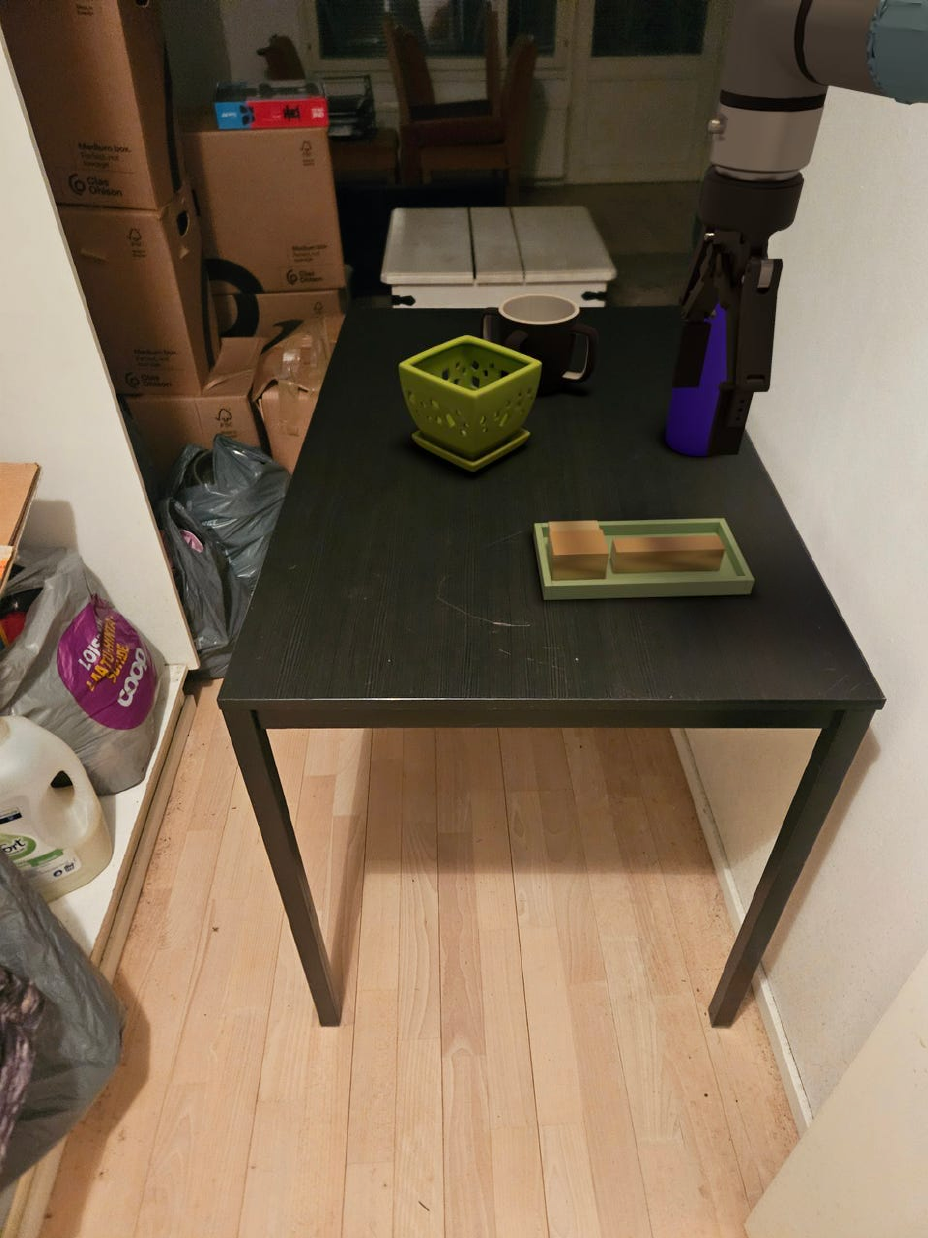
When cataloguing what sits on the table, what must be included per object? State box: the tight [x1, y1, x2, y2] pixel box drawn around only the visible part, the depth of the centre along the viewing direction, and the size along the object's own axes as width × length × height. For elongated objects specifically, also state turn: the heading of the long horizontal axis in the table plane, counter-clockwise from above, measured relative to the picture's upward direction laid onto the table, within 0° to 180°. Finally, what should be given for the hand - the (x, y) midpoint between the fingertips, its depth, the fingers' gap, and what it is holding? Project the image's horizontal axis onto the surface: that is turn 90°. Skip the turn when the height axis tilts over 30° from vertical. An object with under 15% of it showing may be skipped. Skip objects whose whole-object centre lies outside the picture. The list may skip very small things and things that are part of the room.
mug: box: [479, 293, 600, 395], centre depth 118 cm, size 16×16×12 cm
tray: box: [533, 517, 755, 601], centre depth 87 cm, size 23×12×2 cm, turn 92°
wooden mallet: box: [547, 520, 725, 580], centre depth 86 cm, size 19×7×4 cm, turn 92°
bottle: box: [665, 290, 727, 457], centre depth 97 cm, size 8×8×30 cm
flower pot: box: [398, 334, 542, 473], centre depth 103 cm, size 14×14×13 cm
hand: (702, 417), depth 74 cm, fingers open, 13 cm apart
